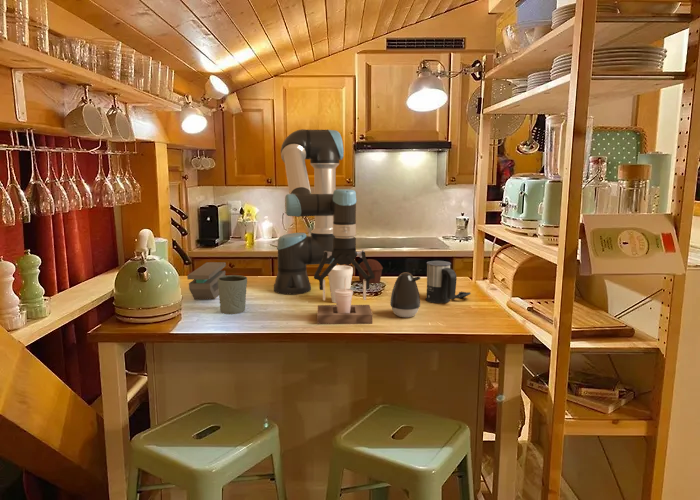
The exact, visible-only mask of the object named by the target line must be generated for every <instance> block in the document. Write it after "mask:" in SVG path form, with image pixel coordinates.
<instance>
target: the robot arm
mask: <svg viewBox="0 0 700 500" xmlns="http://www.w3.org/2000/svg"><path fill="white" fill-rule="evenodd" d="M341 135H342V134H341V133H340V132H339V131H338V130H335V129H302V128H301V129H298V130H295V131H293V132H292V133H290V134H288V135H287V136H286V137H285V139H284V140H283V142H282V143H281V148H280V156H281V157H280V158H281V159H282V162H283V163H284V166H285V172H286V173H285V174H286V179H287V187H288V192H289V193H287V194H286V195H285V197H284V208H285V209H284V210H285V211H284V212H285V215H286V216H288V217H297V218H298V217H314V228H313V229H312V230H311V231H310V235H308V236H307V234H306V232H294V233H293V232H292V233H287V234H283V235H280V236H279V237H278V239H277V246H276V250H277V274H276V277H275V282H274V284H273V292H275V293H277V294H280V295H300V294H306V293H309V292H311V290H312V284H311V281H310V279H309V275H308V272H307V265H310V266H311V265H318V267H317V268H316V270H315V273H314V274H313V279H314V280H318V281H319V282H318V283H319V287H318V288H319V291H322V301H326V279H325V278H326V277H328V273H329V272H330V271H331V270H332V269H333V268H334V267H335V266H336V265H345V266H350V265H352V266H353V267H354V268H355V269H356V270H357V272H358V271H359V272H360V273H361V274H362V276H363V277H364V278H365V279H363V284H362V286H363V287H362V292H363V293H362V299H363V301H367V290H370V284H369V281H370V279H374V278H375V276H374V273H373V271H372V269H371V267H370V265H369V263H368V261H367V257H366V252H365V250H364V249H363V250H360V251H357V246H356V245H357V238H356V235H357V222H356V221H357V200H358V199H357V193H356V192H357V191H356V190H355V189H343V188H342V189H341V188H340V189H338V188H336V180H337V179H336V176H337V175H336V173H337V172H336V169H337V167H338V166H339V165H340V161H342V160H343V158H344V142H343V138H342V136H341ZM306 160H310V166H311V167H312V168H313V170H314V171H313V173H314V176H313V178H314V181H313V182H314V183H313V184H314V186H313V187H314V193H312V191H311V185H310V181H309V180H310V179H309V175H308V171H307V170H308V169H307V166H306ZM357 256H358V257H359V258H360V259H362V261H363V262H364V264H365V266H366V268H367V270H368V272H369V274H370V275H367V274H366V273H365V272H364V270H363V269H362V268H361V267H360V266H359V263H358V262H357V260H355V259H356V258H357ZM325 265H328V266H327V267H326V268H325V270H324V271H323V272H322V269H323V268H324V266H325ZM321 272H322V273H321ZM320 274H321V275H320Z"/></svg>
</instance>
